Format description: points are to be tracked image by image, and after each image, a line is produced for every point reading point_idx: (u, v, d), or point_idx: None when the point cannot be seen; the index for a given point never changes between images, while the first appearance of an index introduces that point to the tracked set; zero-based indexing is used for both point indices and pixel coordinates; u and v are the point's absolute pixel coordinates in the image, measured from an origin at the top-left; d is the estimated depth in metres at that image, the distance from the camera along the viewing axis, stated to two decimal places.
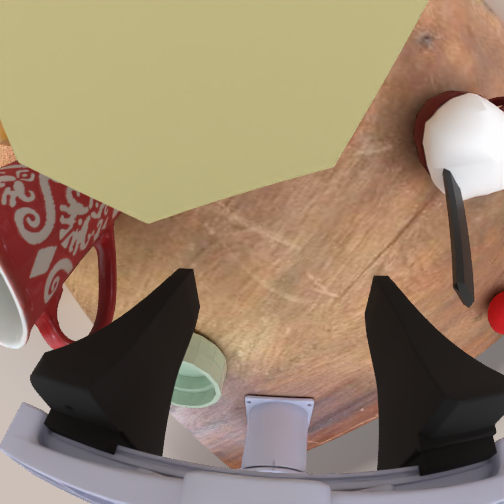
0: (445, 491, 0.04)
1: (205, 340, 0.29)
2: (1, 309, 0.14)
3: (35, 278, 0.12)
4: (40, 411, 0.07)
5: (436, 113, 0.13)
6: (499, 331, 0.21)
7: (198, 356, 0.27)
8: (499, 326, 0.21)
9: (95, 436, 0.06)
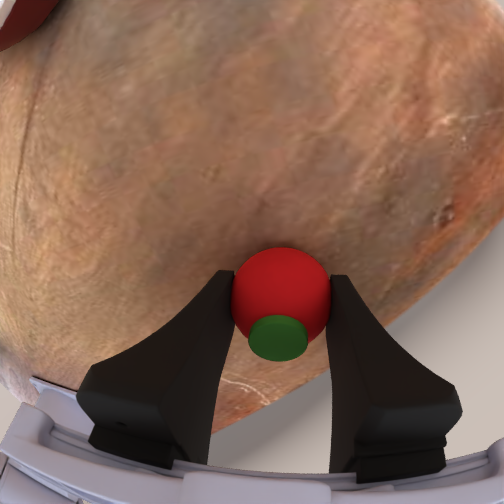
0: (445, 491, 0.04)
1: None
2: None
3: None
4: (40, 411, 0.07)
5: None
6: None
7: None
8: (241, 328, 0.12)
9: (151, 452, 0.06)
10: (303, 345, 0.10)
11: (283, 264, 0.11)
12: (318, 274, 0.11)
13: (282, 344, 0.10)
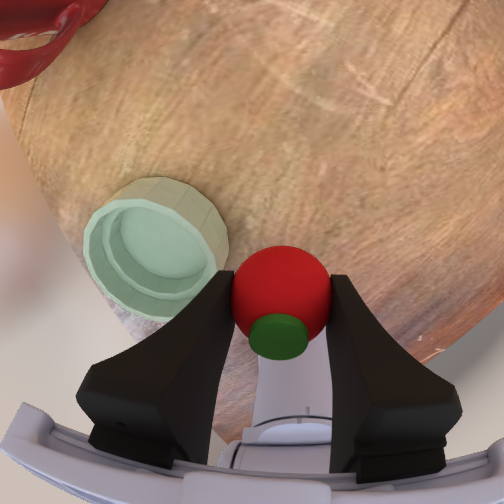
0: (445, 491, 0.04)
1: (196, 191, 0.19)
2: None
3: None
4: (40, 411, 0.07)
5: None
6: None
7: (183, 204, 0.17)
8: (241, 327, 0.12)
9: (151, 452, 0.06)
10: (304, 344, 0.10)
11: (284, 262, 0.11)
12: (319, 272, 0.11)
13: (283, 343, 0.10)
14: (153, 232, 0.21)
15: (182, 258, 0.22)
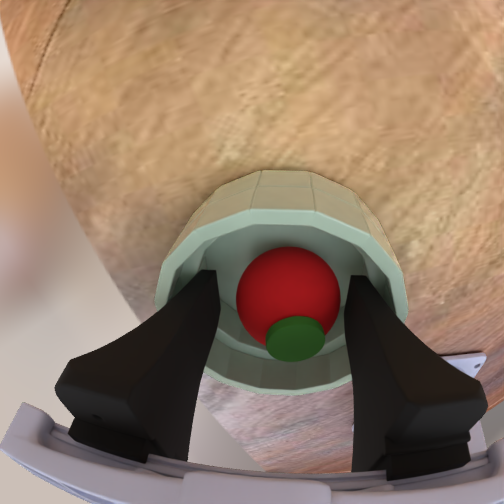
0: (445, 491, 0.04)
1: (361, 201, 0.11)
2: None
3: None
4: (40, 411, 0.07)
5: None
6: (263, 344, 0.12)
7: (369, 223, 0.10)
8: (253, 333, 0.11)
9: (126, 446, 0.06)
10: (321, 343, 0.10)
11: (293, 264, 0.11)
12: (327, 271, 0.11)
13: (300, 344, 0.10)
14: None
15: None
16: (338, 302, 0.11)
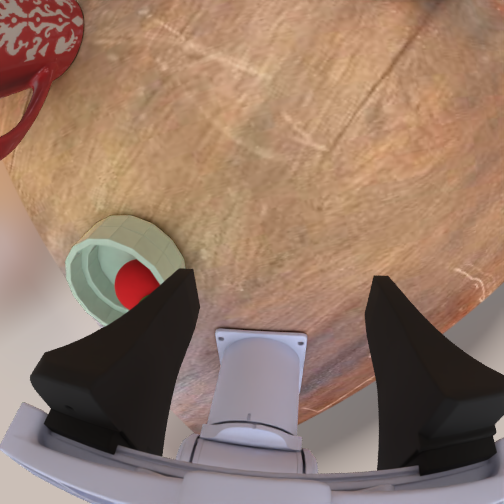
0: (445, 491, 0.04)
1: (156, 229, 0.22)
2: None
3: None
4: (40, 411, 0.07)
5: None
6: None
7: (143, 242, 0.20)
8: None
9: (95, 436, 0.06)
10: None
11: (136, 272, 0.21)
12: None
13: None
14: (124, 260, 0.24)
15: None
16: None
